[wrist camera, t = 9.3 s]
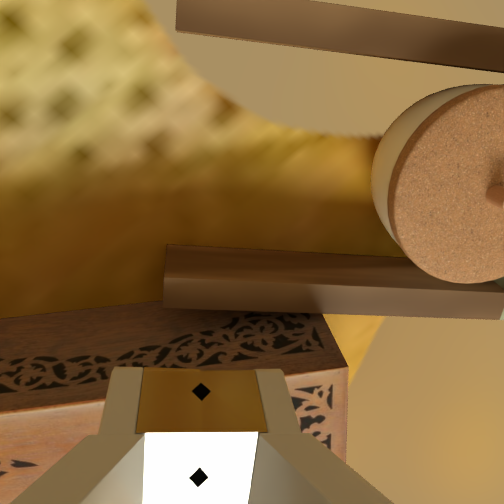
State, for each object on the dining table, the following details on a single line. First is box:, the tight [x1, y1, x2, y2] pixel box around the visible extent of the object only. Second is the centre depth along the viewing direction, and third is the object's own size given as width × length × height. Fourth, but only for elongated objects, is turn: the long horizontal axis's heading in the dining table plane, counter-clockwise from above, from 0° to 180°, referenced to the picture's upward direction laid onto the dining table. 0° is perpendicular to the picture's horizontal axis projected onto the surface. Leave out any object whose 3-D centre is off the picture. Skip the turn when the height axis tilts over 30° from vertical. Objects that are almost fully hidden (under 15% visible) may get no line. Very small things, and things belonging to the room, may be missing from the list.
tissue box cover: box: [0, 300, 348, 504], centre depth 32 cm, size 26×14×10 cm, turn 93°
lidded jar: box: [371, 84, 504, 284], centre depth 28 cm, size 11×11×9 cm
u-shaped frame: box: [163, 0, 504, 320], centre depth 29 cm, size 17×24×5 cm
